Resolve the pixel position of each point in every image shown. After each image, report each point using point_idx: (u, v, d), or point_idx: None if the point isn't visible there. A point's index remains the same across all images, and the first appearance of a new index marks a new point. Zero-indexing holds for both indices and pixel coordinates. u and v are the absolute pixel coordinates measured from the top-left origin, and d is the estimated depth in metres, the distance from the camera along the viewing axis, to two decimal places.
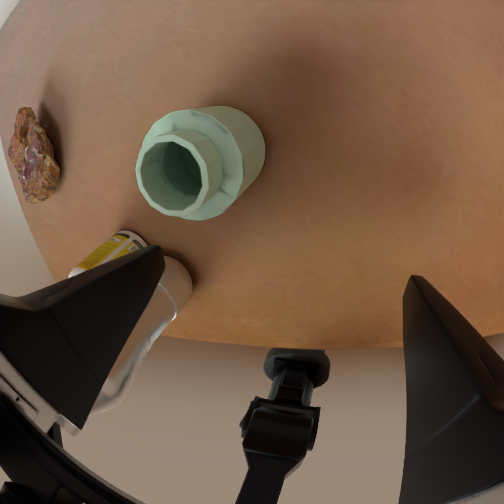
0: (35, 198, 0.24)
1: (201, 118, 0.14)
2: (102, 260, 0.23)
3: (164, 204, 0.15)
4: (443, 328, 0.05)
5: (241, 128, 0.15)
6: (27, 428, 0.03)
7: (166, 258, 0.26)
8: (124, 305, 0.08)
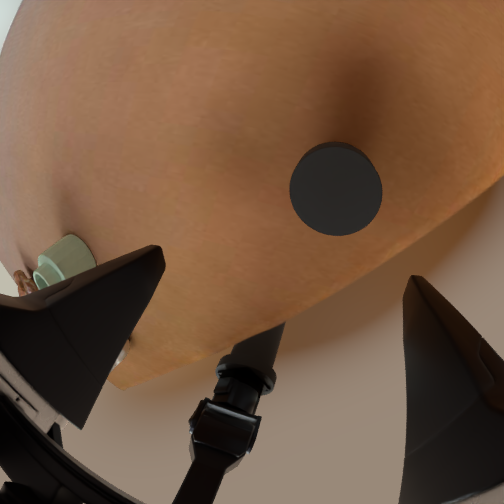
0: None
1: (42, 257, 0.26)
2: None
3: None
4: (443, 328, 0.05)
5: (58, 250, 0.27)
6: (27, 428, 0.03)
7: None
8: (124, 305, 0.08)
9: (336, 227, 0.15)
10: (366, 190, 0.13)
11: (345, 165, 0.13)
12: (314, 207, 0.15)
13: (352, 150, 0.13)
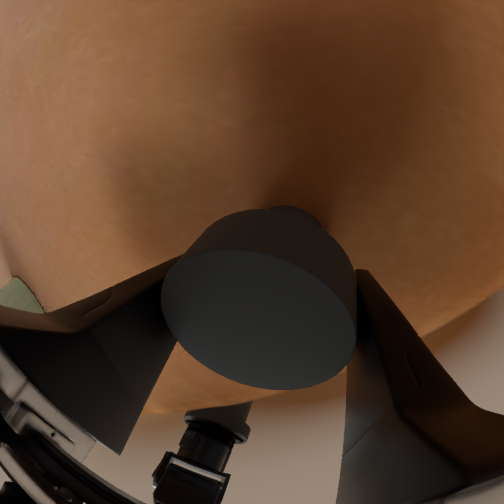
0: None
1: None
2: None
3: None
4: (370, 323, 0.05)
5: (3, 299, 0.20)
6: (76, 473, 0.03)
7: None
8: None
9: (261, 380, 0.08)
10: (318, 338, 0.06)
11: (264, 290, 0.06)
12: (214, 351, 0.07)
13: (282, 255, 0.05)
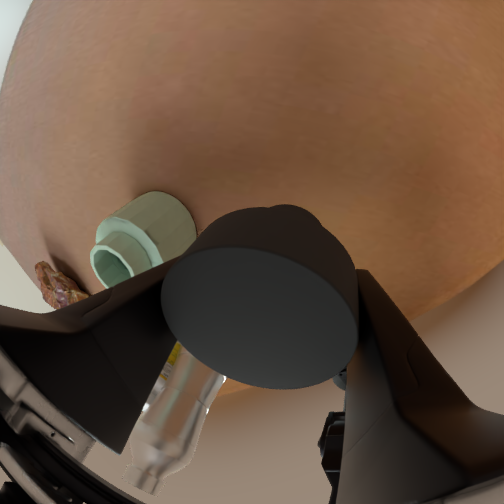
0: None
1: (111, 222, 0.18)
2: None
3: None
4: (370, 323, 0.05)
5: (143, 210, 0.19)
6: (76, 473, 0.03)
7: None
8: None
9: (261, 379, 0.08)
10: (320, 337, 0.06)
11: (265, 288, 0.06)
12: (214, 350, 0.07)
13: (283, 253, 0.05)
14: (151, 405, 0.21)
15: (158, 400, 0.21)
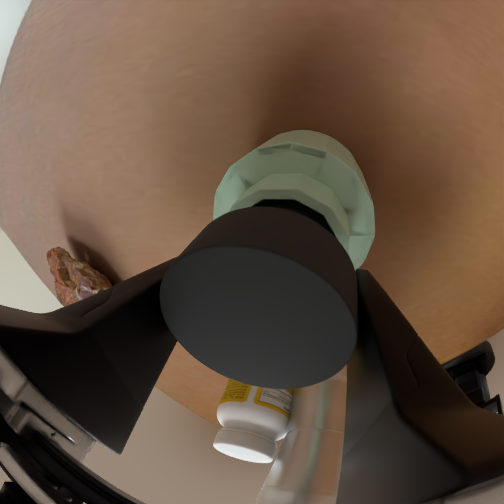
0: None
1: (278, 153, 0.10)
2: None
3: None
4: (370, 323, 0.05)
5: (328, 144, 0.11)
6: (76, 473, 0.03)
7: None
8: None
9: (260, 379, 0.07)
10: (319, 336, 0.06)
11: (264, 287, 0.06)
12: (213, 349, 0.07)
13: (281, 252, 0.05)
14: (291, 461, 0.13)
15: (300, 451, 0.13)
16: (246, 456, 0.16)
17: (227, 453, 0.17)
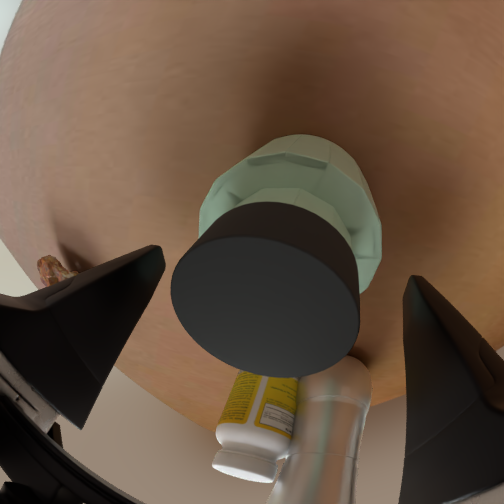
0: None
1: (270, 164, 0.09)
2: (253, 401, 0.17)
3: None
4: (443, 328, 0.05)
5: (330, 152, 0.10)
6: (27, 428, 0.03)
7: None
8: (124, 305, 0.08)
9: (266, 368, 0.08)
10: (323, 323, 0.06)
11: (272, 275, 0.06)
12: (221, 338, 0.08)
13: (289, 242, 0.06)
14: (292, 486, 0.11)
15: (303, 476, 0.11)
16: (246, 476, 0.15)
17: (226, 472, 0.15)
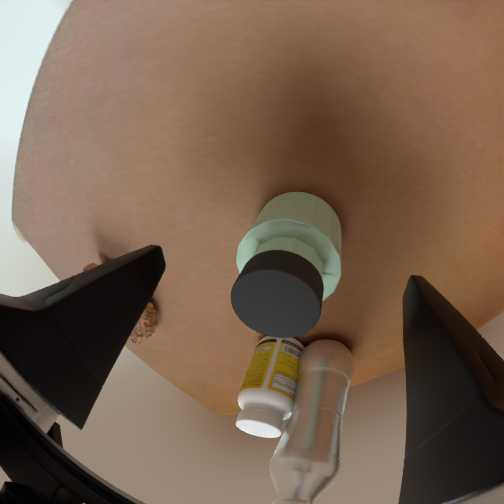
0: (142, 337, 0.32)
1: (280, 224, 0.17)
2: (266, 372, 0.25)
3: None
4: (443, 328, 0.05)
5: (313, 213, 0.18)
6: (27, 428, 0.03)
7: (321, 343, 0.27)
8: (124, 305, 0.08)
9: (277, 332, 0.16)
10: (304, 307, 0.14)
11: (281, 285, 0.14)
12: (255, 316, 0.16)
13: (289, 272, 0.14)
14: (295, 430, 0.19)
15: (303, 423, 0.19)
16: (261, 431, 0.22)
17: (245, 430, 0.23)
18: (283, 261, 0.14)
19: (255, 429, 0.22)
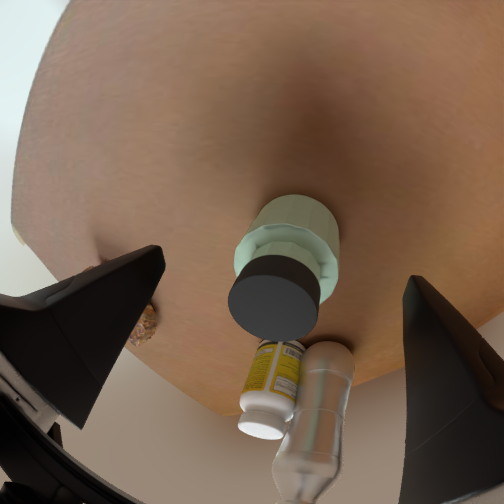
0: (142, 339, 0.32)
1: (276, 229, 0.17)
2: (268, 374, 0.25)
3: None
4: (443, 328, 0.05)
5: (310, 217, 0.18)
6: (27, 428, 0.03)
7: (322, 345, 0.27)
8: (124, 305, 0.08)
9: (274, 336, 0.16)
10: (301, 311, 0.14)
11: (278, 291, 0.14)
12: (252, 320, 0.16)
13: (285, 277, 0.14)
14: (297, 432, 0.19)
15: (304, 425, 0.19)
16: (263, 433, 0.22)
17: (248, 432, 0.23)
18: (279, 266, 0.14)
19: (257, 431, 0.22)
